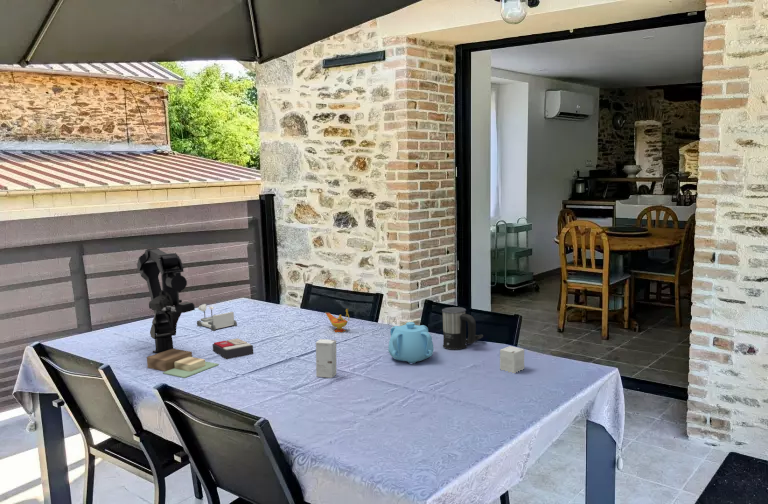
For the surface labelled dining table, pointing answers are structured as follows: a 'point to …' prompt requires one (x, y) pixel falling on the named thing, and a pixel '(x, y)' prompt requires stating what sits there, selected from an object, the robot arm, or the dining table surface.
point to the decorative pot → (410, 343)
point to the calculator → (233, 348)
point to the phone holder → (216, 319)
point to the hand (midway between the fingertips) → (173, 328)
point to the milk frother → (458, 328)
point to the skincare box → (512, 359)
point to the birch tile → (189, 364)
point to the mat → (189, 373)
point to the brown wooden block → (166, 359)
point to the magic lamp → (338, 321)
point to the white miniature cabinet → (326, 358)
